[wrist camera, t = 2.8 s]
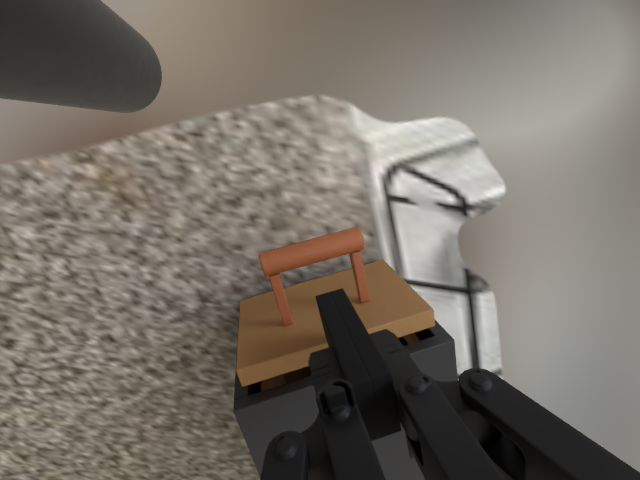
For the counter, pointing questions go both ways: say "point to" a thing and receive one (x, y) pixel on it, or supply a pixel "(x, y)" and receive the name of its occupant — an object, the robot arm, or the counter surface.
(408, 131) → the counter surface
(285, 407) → the cabinet
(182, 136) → the counter surface
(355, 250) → the drawer
